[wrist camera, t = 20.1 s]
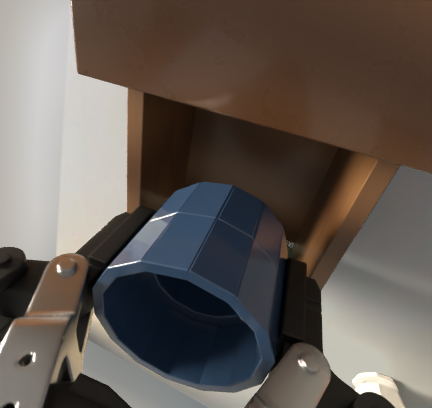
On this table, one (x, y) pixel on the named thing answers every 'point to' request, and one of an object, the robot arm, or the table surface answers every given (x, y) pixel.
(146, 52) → the cabinet
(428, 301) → the table surface
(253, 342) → the blue faceted tumbler
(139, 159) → the drawer
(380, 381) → the cup
